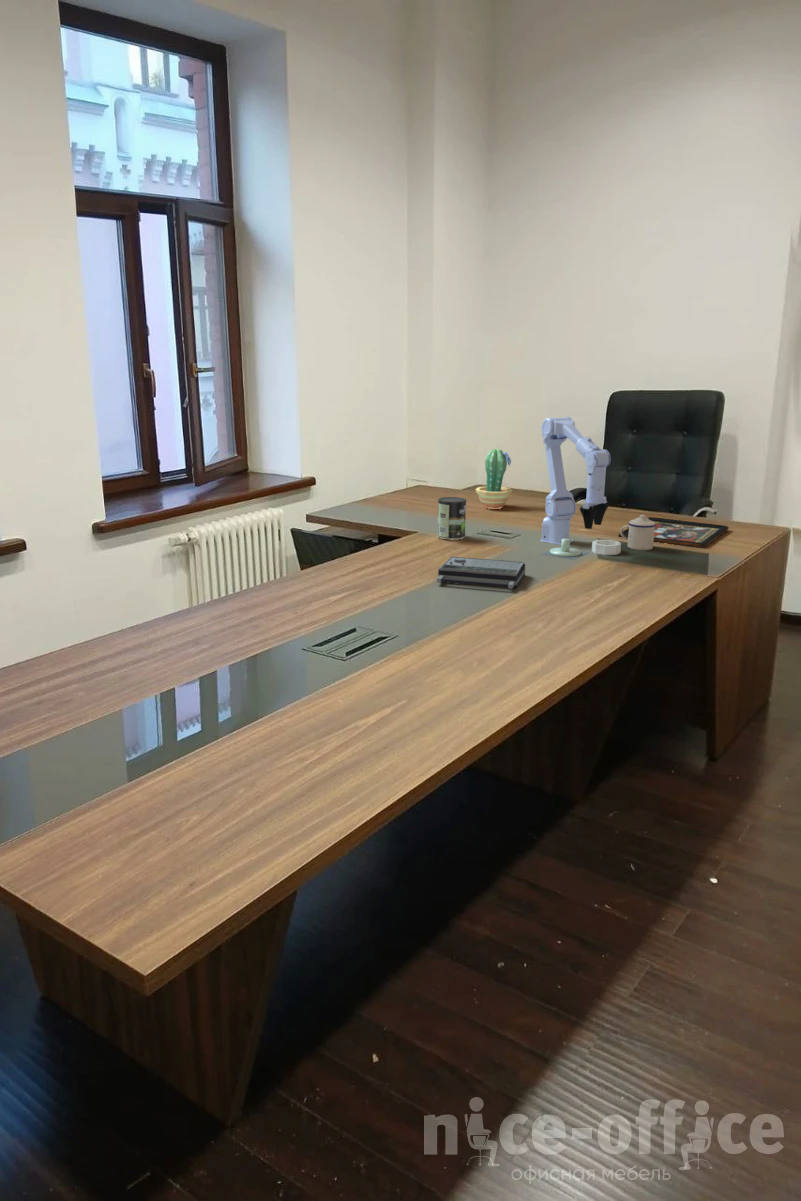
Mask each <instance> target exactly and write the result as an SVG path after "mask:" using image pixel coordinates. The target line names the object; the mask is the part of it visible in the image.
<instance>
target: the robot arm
mask: <svg viewBox="0 0 801 1201" xmlns="http://www.w3.org/2000/svg"><path fill="white" fill-rule="evenodd" d="M541 435H542V442H543V444H544V448H545V456H546V463H547V471H548V476H549V484H550V490H551V491H550V492H549V494H548V495H546V497H545V505H544V506H545V509H544V511H545V514H546V516H545V517H544V518H543V520H542V524H541V539H540V542H543V543H549V544H555V545H561V542H562V539H570V532H571V531H570V530H571V519H573V516H574V515H575V514H576V511H577V504H576V501H575V498H574V494H573V493H572V492H571V491H569V490H567V484H566V475H565V471H564V464H563V457H562V449H561V446H562V443H563V444H564V443H565V441H567V439H569V440H570V441H571V442H572V443H573V444H574V445H575V449H576V451H577V452H578V453H579V454H580V455H581V456H582V458H584V463H585V466H586V473H587V484H586V498H585V500H584V501H583V503H582V506H580V507H579V512H580V514H581V515H582V518H583V524H584V529H586V530H587V529H588V530H592V528H593V525H598V526H601V525H602V523H603V520H604V516H605V513H606V511H607V510H608V508H609V506H610V505H609V503H608V501H607V496H605V487H606V486H605V485H606V474H607V472H606V471H607V467H608V466H610V464H611V459H612V458H611V453H610V452H609V451H608V449H602V448H600V446H598V445H597V444H595V442H594V441H593V439H592V438H591V437H584V435H582V433H581V432H580V431H579V430H578V428H577V427H576V422H575V421H574V420H573V418H572V417H570V416H566V417H564V416H563V417H546V418H544V420H543V422H542V425H541ZM572 542H574V540H573V539H570V543H572Z"/></svg>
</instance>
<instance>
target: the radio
mask: <svg viewBox="0 0 801 1201" xmlns="http://www.w3.org/2000/svg"><path fill="white" fill-rule="evenodd" d="M525 575H526V563H525V562H524V561H514V560H500V559H489V558H477V557H463V556H462V557H460V556H450V557H449V558H448V559H447V560H446V561H445V562H444V563H443V564H442V565H441V566H439V567H438V571H437V578H436V583H440V584H441V583H446V584H448V585H449V584H450V583H451V584H455V585H458V584H463V585H474V586H486V587H496V588H508V589H517V588H518V587H519V585H520V583H521V582H522V580H523V579H524V577H525Z"/></svg>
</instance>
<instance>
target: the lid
mask: <svg viewBox="0 0 801 1201" xmlns="http://www.w3.org/2000/svg"><path fill="white" fill-rule="evenodd" d="M570 540H571V539H570V538H569V539H562V542H561V544H560V547H553V548H550V549H549V551H550V554H552V555H554V556H560V557H575V556H579V555H580V554H581V550H580V549H578V548H573V547H570V546H571V545H570V544H571V542H570ZM554 556H553V557H554ZM560 557H559V558H560Z"/></svg>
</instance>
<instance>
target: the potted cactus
mask: <svg viewBox="0 0 801 1201" xmlns="http://www.w3.org/2000/svg"><path fill="white" fill-rule="evenodd" d="M511 463H512V459H511V457H510V456H509V453H508V452H507V451H506V452H505V451H503V450H502V449H500V448H497V449H496V448H493V449H491V450H490V451H489V452H488V453H487V454H486V456H485V458H484V468H485V472H486V483H485V485H486V486H478V487H476V488H475V492H476V494H477V496H478V498H479V501H480V502H481V504H482V507H483V506H485V507H492V508H499V507H503V506H505V504H506V503H507V501H508V499H509V496H510V495H511V494H512V492H513V490H512V489H511V488H510V487H505V486H503V479H504V475H505V474H506V473H505V472H506V471H507V467H510V466H511ZM507 465H508V466H507Z"/></svg>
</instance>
